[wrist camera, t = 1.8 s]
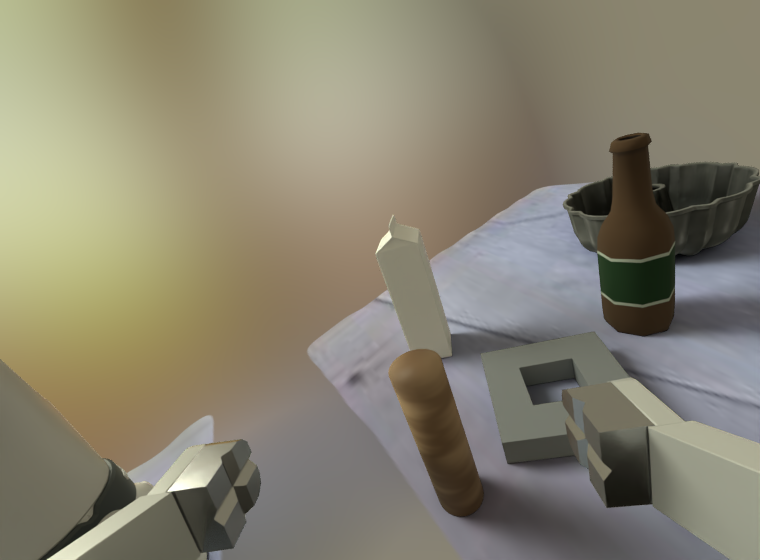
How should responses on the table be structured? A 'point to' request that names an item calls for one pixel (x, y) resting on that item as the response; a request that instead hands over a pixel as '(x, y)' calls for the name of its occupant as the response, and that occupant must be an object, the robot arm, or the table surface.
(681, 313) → the table surface
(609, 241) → the beer bottle
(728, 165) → the bundt pan
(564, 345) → the socket block
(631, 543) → the table surface
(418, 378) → the dowel
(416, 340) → the milk
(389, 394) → the table surface
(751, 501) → the robot arm
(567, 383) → the table surface
